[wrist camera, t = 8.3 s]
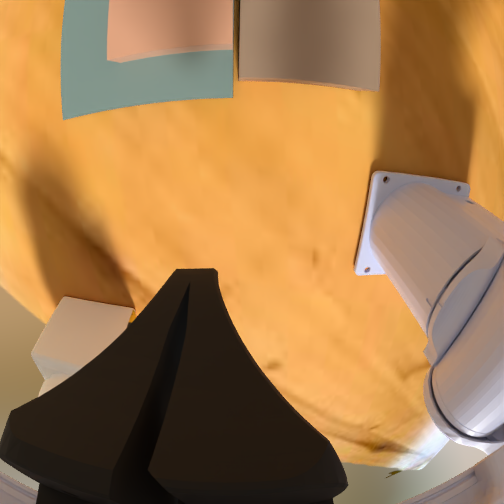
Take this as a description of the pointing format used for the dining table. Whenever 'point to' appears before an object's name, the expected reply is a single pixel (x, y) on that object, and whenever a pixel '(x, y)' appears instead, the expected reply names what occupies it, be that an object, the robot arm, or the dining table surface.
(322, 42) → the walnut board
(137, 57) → the terracotta tile
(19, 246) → the dining table surface
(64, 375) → the medicine bottle
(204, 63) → the teal rectangular slab
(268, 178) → the dining table surface
